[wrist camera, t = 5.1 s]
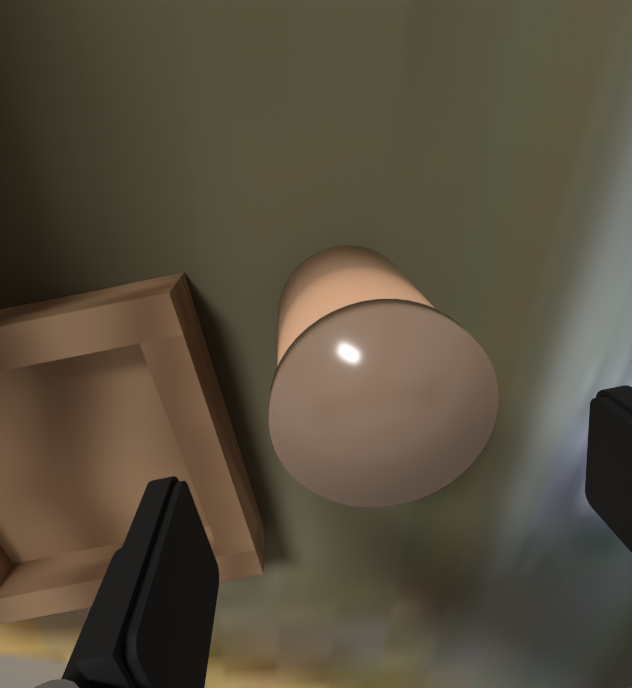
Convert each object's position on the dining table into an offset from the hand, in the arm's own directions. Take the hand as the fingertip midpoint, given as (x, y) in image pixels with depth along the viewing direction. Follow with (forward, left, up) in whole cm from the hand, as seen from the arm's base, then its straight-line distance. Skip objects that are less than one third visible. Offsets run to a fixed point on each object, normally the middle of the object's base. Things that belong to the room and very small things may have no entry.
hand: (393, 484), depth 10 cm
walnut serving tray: (+13, +3, -10) cm, 16 cm away
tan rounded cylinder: (0, -1, -10) cm, 10 cm away
